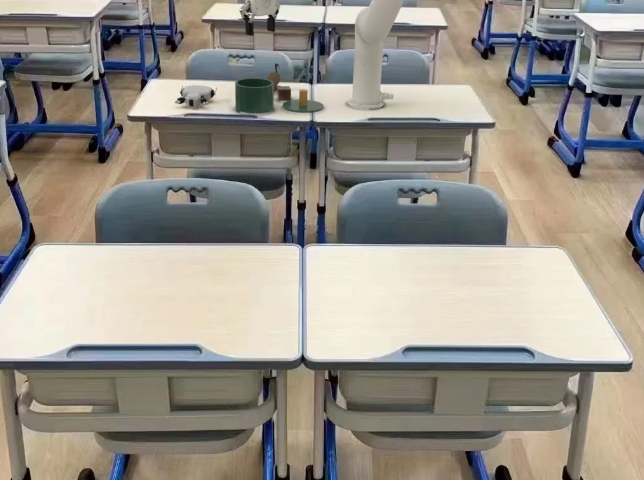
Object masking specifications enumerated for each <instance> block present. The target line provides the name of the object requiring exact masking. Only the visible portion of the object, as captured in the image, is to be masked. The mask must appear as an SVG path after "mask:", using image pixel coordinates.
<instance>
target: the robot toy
mask: <svg viewBox="0 0 644 480" xmlns="http://www.w3.org/2000/svg"><path fill="white" fill-rule="evenodd" d="M217 90H218V87H215V89H213V88H212V87H211V86H209V85H194V84H193V85H186V86H184V85H182V86H181V88H180V90H179V94H180V97H178V98H176V100H175V101H174V104H177V105H182V104H184V103H185V105H186V106H187V107H188V108H199V107H200V106H201V105H202V106H208V105H209V101H210V100H212V99H213V98H214V97H215V96H216V93H217Z"/></svg>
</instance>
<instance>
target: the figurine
mask: <svg viewBox="0 0 644 480" xmlns="http://www.w3.org/2000/svg"><path fill="white" fill-rule="evenodd" d="M278 68H280V65H279V63H274V70H275V71H273V72H270V73H269V74H268V76H267V78H266V79H268V80H271V81H273V83H274V94H275V93H277V86H281V85H280V79H281V75H280V74H279V73H278Z"/></svg>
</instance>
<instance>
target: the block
mask: <svg viewBox="0 0 644 480" xmlns="http://www.w3.org/2000/svg"><path fill="white" fill-rule="evenodd" d="M276 99H277V101H278V102H287V101H291V100H292V88H291V87H290V85H284V86H283V85H280V86H279V85H277V91H276Z"/></svg>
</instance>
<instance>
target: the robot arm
mask: <svg viewBox="0 0 644 480" xmlns="http://www.w3.org/2000/svg"><path fill="white" fill-rule="evenodd" d="M403 3H404V0H371V1H370V3H369V6H367V7H365V8H362V9H361V10H360V11H359V12H358V14H357V15H356V18H355V22H354V54H353V55H354V57H353V73H352V94H351V97H349V98H347V100H346V103H347V104H348V105H350V106H352V107H355V108H361V109H368V110H375V109H379V108H382V107H383V106H384V105H385V100H394V93H389V92H382V90H381V86H382V73H383V72H382V70H383V59H384V40H385V39H386V38H387V37H388V35H389V34H390V32H391V30H392V27H393V26H394V24H395V21H396V19H397V17H398V15H399V14H400V10H401V8H402V6H403ZM281 5H282V4H281V3H280V2H278V1H277V0H245V3H244V4H243V5H242V6H240V7H239V10H238V12H239V14H240V17H241V18H242V20H243V22H244V23H245V26H244V27H245V31H244V32H245V35H246V36H250V37H251V36H252V37H253V36H254V32H255V31H254V28H255V27H254V22H253V21H254V19H255V17H264V16H267V18H266V30H267V31H268V32H272V33H275V32H276V19H277V17H278V14H279V12H280V11H279V10H280V9H281Z"/></svg>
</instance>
